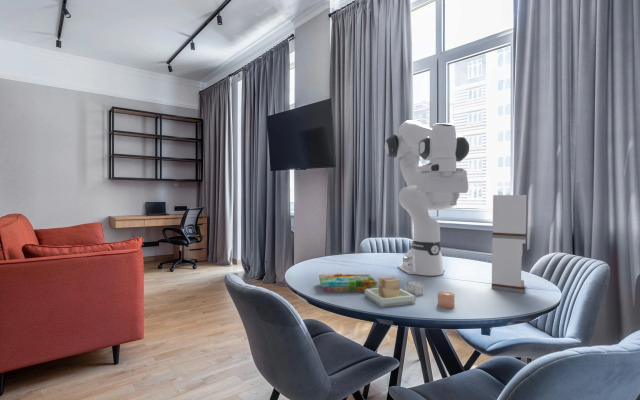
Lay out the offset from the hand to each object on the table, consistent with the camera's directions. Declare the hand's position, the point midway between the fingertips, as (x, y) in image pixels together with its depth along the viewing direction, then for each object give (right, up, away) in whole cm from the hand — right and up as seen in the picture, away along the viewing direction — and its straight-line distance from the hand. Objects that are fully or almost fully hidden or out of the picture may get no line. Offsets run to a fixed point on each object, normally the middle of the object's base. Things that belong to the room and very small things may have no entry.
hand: (442, 205), depth 126 cm
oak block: (-22, -30, -10) cm, 39 cm away
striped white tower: (+27, -31, +5) cm, 42 cm away
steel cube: (-11, -31, -4) cm, 33 cm away
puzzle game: (-35, -31, +4) cm, 47 cm away
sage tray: (-22, -31, -11) cm, 39 cm away
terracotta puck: (-5, -32, -17) cm, 36 cm away
